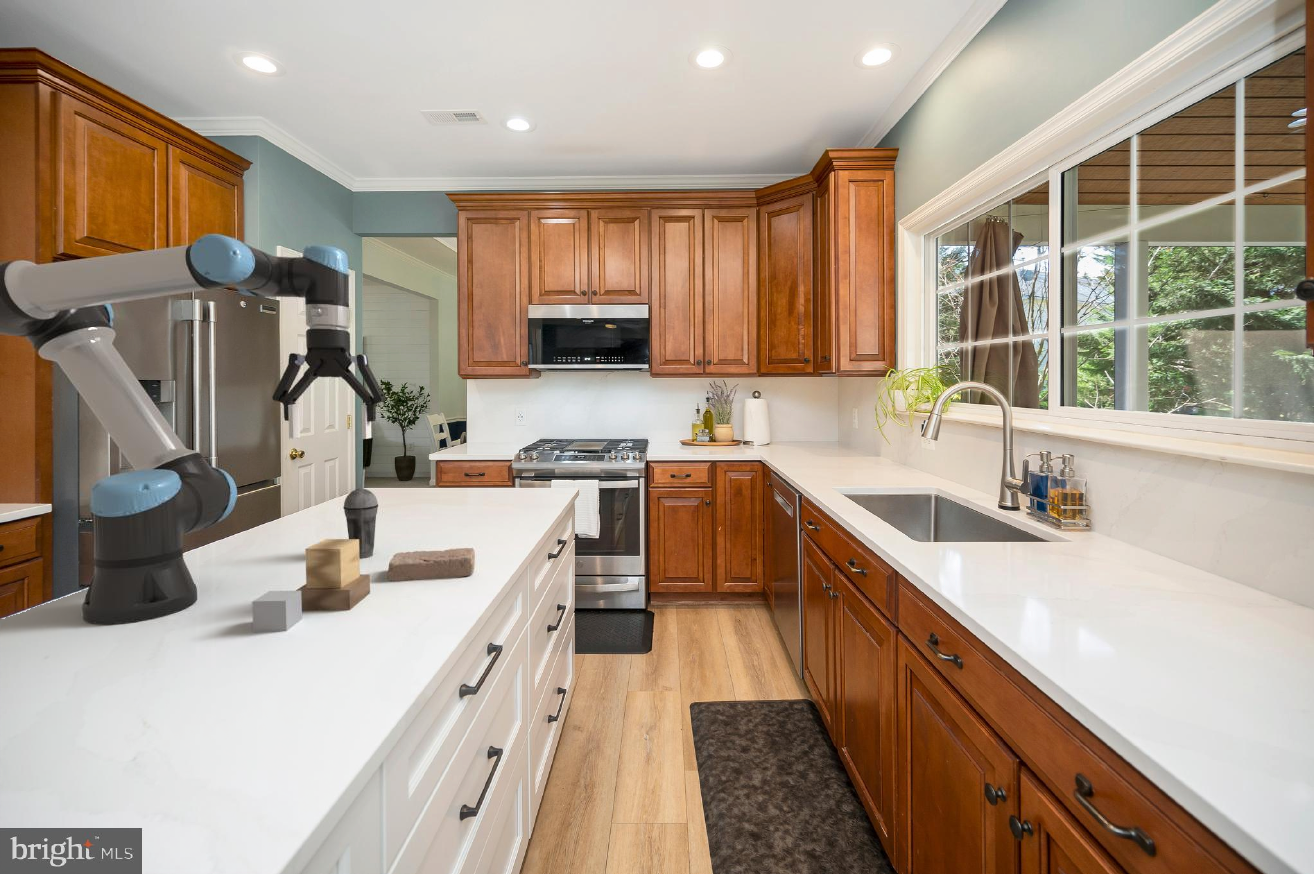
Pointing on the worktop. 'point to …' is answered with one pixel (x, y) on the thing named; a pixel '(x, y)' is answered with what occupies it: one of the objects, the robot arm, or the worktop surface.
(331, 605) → the walnut block
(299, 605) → the grey block
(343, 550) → the oak block
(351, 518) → the beverage cup
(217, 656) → the worktop surface
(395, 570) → the brick
